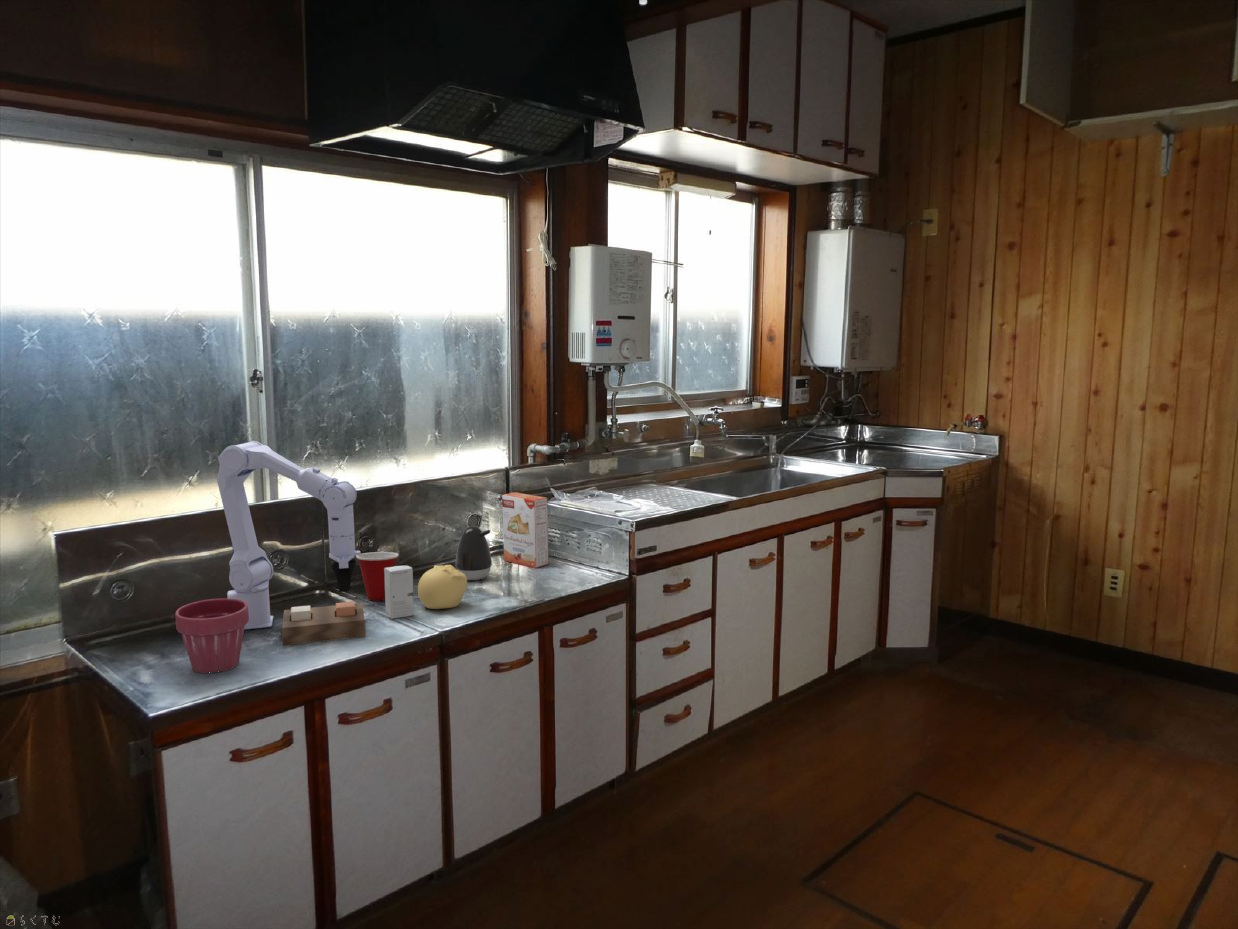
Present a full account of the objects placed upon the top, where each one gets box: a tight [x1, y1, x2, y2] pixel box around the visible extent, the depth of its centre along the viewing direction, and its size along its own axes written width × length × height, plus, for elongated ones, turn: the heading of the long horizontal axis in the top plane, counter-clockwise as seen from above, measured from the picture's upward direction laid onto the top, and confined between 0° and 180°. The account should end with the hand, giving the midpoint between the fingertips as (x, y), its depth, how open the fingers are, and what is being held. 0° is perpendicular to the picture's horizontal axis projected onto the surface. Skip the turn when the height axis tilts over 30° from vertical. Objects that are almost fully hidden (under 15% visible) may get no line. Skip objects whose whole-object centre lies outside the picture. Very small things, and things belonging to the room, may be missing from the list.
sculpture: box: [417, 564, 468, 610], centre depth 235 cm, size 11×12×11 cm
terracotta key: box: [335, 601, 356, 617], centre depth 217 cm, size 4×4×4 cm
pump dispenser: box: [455, 525, 493, 581], centre depth 261 cm, size 10×10×15 cm
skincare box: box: [384, 564, 415, 620], centre depth 228 cm, size 6×4×12 cm
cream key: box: [290, 605, 311, 621], centre depth 214 cm, size 4×4×4 cm
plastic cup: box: [355, 551, 399, 602], centre depth 242 cm, size 11×11×12 cm
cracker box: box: [501, 492, 549, 569], centre depth 277 cm, size 14×6×21 cm, turn 50°
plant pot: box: [174, 598, 249, 674], centre depth 194 cm, size 14×14×13 cm
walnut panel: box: [281, 602, 366, 646], centre depth 216 cm, size 18×14×4 cm
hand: (344, 590), depth 217 cm, fingers closed
